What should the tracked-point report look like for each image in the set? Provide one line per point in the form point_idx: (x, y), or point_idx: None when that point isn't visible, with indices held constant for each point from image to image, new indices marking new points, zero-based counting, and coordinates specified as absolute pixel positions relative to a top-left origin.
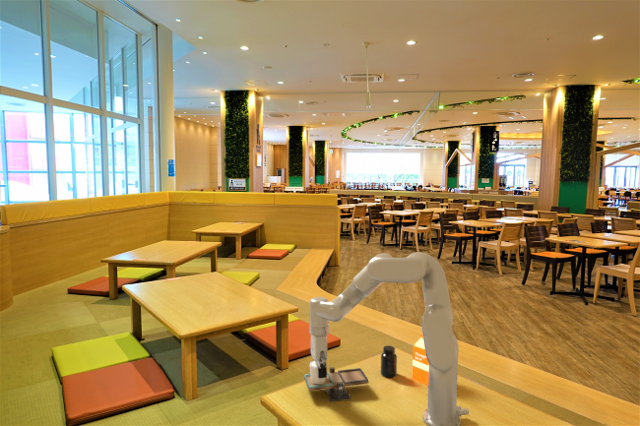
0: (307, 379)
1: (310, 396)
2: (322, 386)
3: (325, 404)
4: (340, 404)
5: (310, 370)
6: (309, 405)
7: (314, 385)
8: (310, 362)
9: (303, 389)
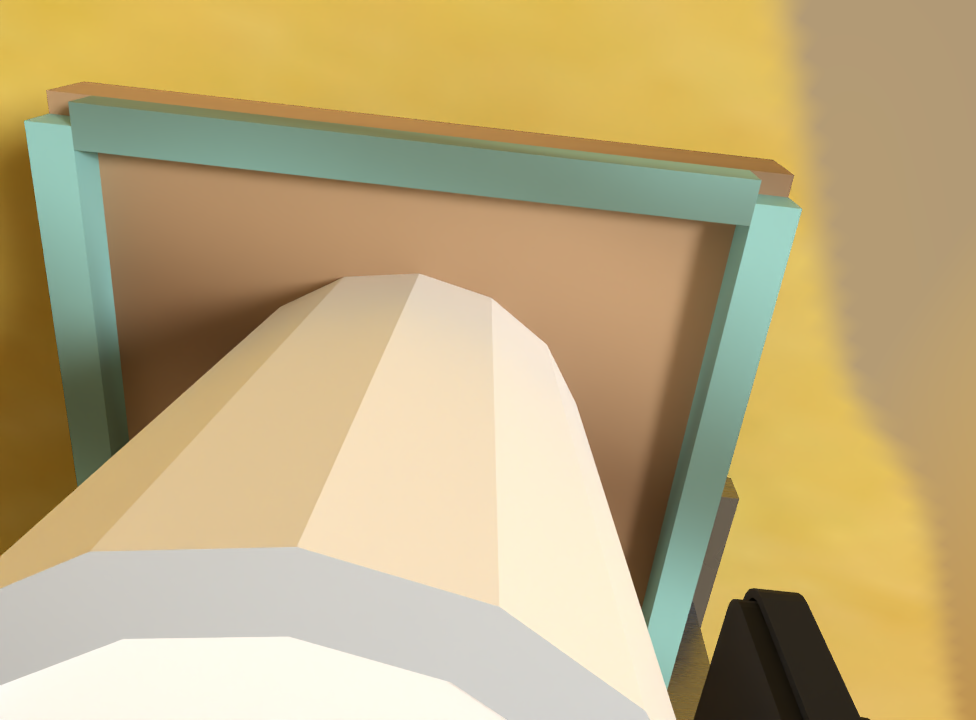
0: (556, 209)
1: None
2: (83, 440)
3: (41, 310)
4: (26, 507)
5: (303, 409)
6: (27, 18)
7: (193, 287)
8: (553, 665)
9: (651, 80)
